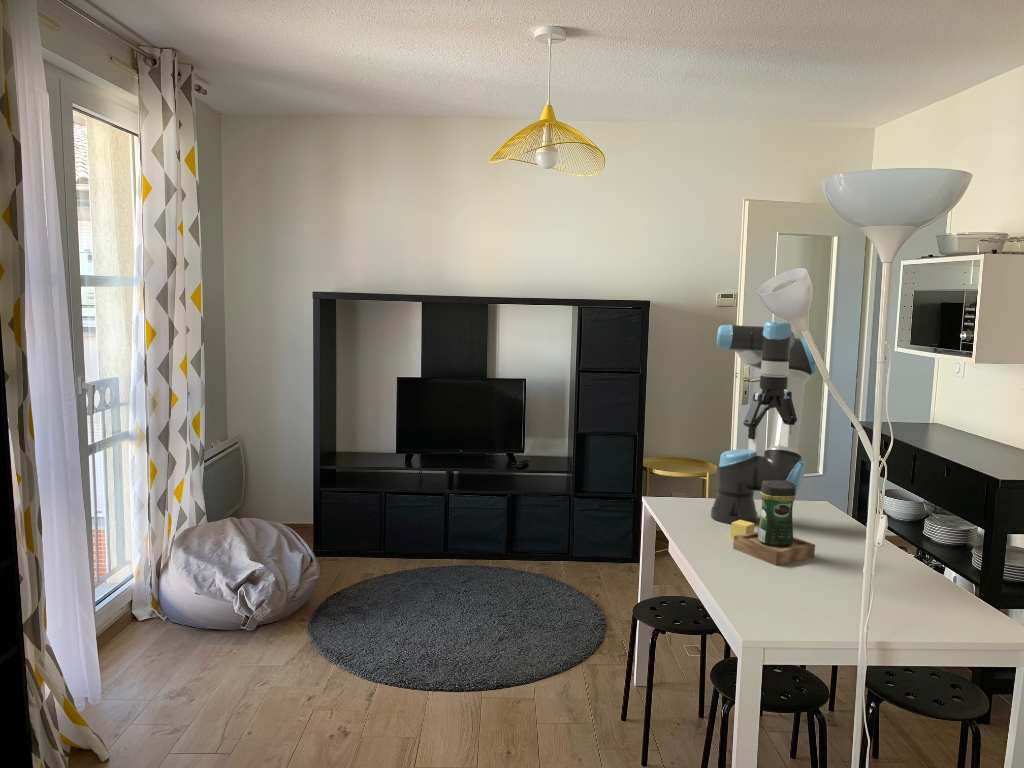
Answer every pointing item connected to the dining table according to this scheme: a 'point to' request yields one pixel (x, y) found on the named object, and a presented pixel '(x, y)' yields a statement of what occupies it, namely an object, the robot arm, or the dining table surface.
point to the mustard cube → (741, 528)
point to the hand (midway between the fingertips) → (768, 448)
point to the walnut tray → (773, 549)
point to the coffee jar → (776, 513)
